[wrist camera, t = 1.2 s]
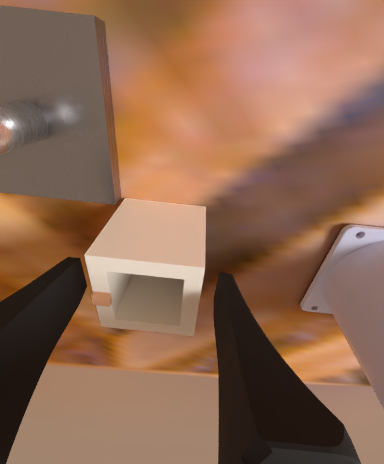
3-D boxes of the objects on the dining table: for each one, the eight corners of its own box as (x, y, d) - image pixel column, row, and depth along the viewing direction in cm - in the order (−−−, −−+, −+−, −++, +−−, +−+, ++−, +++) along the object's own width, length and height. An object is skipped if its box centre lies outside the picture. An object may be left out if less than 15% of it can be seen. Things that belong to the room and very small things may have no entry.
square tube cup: (205, 206, 14) (204, 273, 9) (197, 266, 17) (193, 341, 12) (125, 197, 14) (80, 259, 9) (130, 259, 17) (98, 331, 12)
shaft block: (104, 21, 9) (3, -38, 5) (121, 197, 14) (77, 254, 9) (-76, 2, 9) (-352, -77, 5) (-1, 184, 14) (-105, 234, 9)
